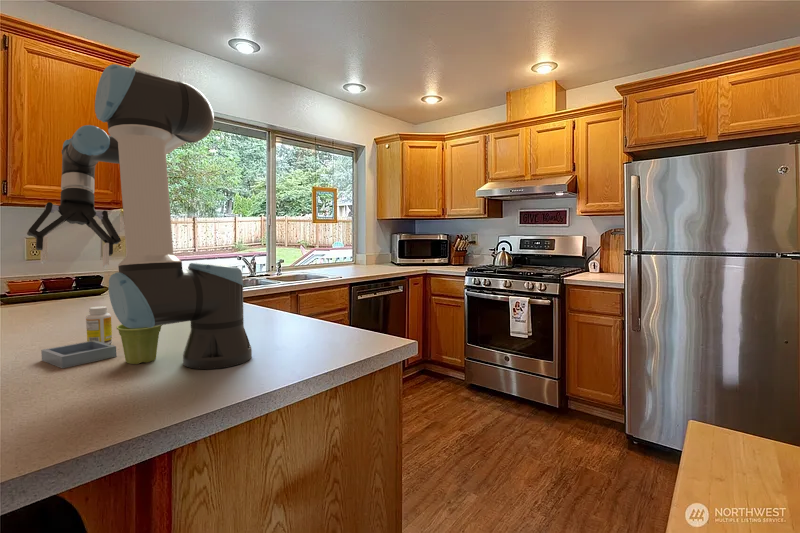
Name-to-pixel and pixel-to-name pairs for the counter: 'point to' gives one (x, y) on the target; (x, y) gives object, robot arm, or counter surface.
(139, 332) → the plant pot
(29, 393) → the counter surface
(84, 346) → the dish
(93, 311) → the supplement bottle
